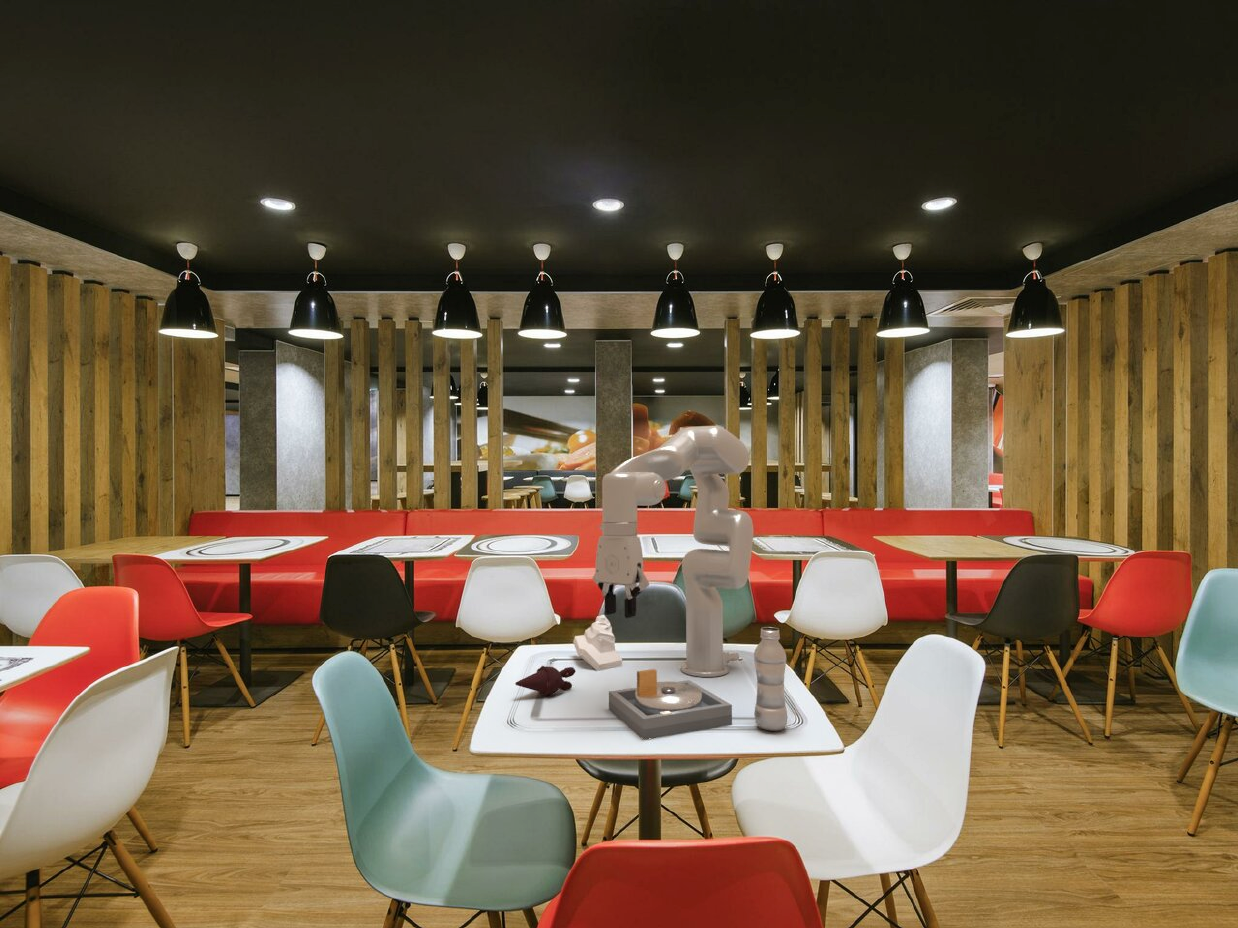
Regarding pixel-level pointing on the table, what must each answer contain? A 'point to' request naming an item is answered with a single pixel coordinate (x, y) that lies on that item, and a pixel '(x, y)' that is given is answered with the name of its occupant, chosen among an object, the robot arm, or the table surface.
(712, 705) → the tray
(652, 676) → the dial
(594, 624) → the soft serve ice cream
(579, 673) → the table surface
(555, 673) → the icecream
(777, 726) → the plastic bottle
